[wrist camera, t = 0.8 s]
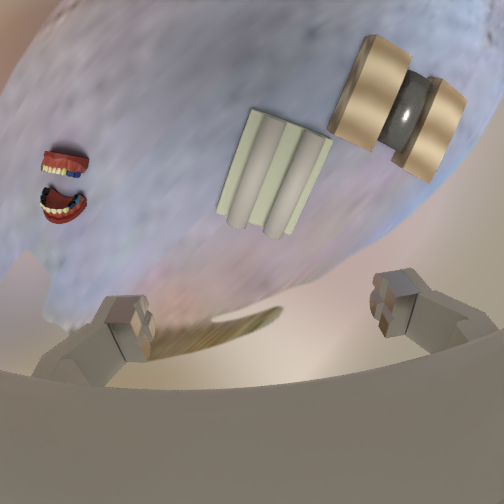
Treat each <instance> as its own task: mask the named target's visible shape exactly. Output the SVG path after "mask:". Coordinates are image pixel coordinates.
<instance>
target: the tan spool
mask: <svg viewBox="0 0 504 504" xmlns="http://www.w3.org/2000/svg"><path fill="white" fill-rule="evenodd" d="M411 60H412V56H411V55H409V54H408V53H406V52H405V51H403V50H402V49H400V48H399V47H397V46H396V45H394V44H392V43H391V42H389V41H388V40H386V39H384V38H383V37H381V36H379V35H377V34H376V35H372V36H367V37H365V40H364V42H363V44H362V47H361V49H360V52H359V54H358V56H357V59H356V61H355V64H354V66H353V68H352V71H351V73H350V75H349V78H348V80H347V83H346V85H345V87H344V90H343V92H342V94H341V97H340V99H339V101H338V104H337V106H336V108H335V111H334V113H333V115H332V118H331V120H330V122H329V124H328V127H327V129H326V130H328V131H329V132H331V133H332V134H334V135H336V136H338V137H340V138H342V139H345V140H347V141H349V142H351V143H353V144H355V145H357V146H360V147H362V148H364V149H366V150H368V151H370V152H372V149H373V147H374V145H375V143H376V141H377V139H378V137H379V134H380V132H381V130H382V128H383V126H384V123H385V121H386V119H387V117H388V114H389V112H390V110H391V108H392V105H393V103H394V101H395V98H396V96H397V94H398V91H399V89H400V87H401V84H402V82H403V79H404V77H405V74H406V72H407V70H408V67H409V65H410V62H411ZM428 80H429V81H430V82H431V83H432V84H433V87H432V89H431V92H430V94H429V97H428V99H427V102H426V104H425V106H424V109H423V111H422V113H421V116H420V118H419V120H418V122H417V125H416V127H415V129H414V131H413V133H412V136H411V138H410V140H409V142H408V144H407V146H406V148H405V151H404V153H403V154H402V153H400V152H398V151H397V150H396V152H395V154H394V156H393V158H392V160H391V161H392V162H394V163H395V164H397V165H398V166H400V167H401V168H402V169H404V170H406V171H408V172H409V173H411V174H413V175H415V176H416V177H418V178H420V179H422V180H423V181H425V182H427V183H428V184H430V182H431V180H432V178H433V176H434V174H435V172H436V170H437V168H438V166H439V164H440V162H441V160H442V158H443V156H444V154H445V152H446V150H447V147H448V145H449V143H450V141H451V139H452V136H453V134H454V132H455V130H456V127H457V125H458V123H459V120H460V118H461V115H462V113H463V111H464V108H465V106H466V103H467V99H466V98H465V97H464V96H463V95H462V94H460V93H459V92H458V91H457V90H456V89H455V88H453V87H452V86H451V85H450V84H449V83H447V82H446V81H445V80H444V79H440V78H433V77H428Z"/></svg>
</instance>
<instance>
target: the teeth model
mask: <svg viewBox="0 0 504 504" xmlns="http://www.w3.org/2000/svg"><path fill="white" fill-rule="evenodd" d="M88 163H89V159H86V158H81V157H76V156H71V155H66V154H60V153H54V152H48V151H45V153H44V159H43V162H42V164H41V171H43V172H44V171H46V172H50V173H51V172H52V173H56V174H60V173H61V174H62V175H65V174H66V175H67V176H69V177H70V176H72V177H74V178H76V177H77V178H79V177H80V176H81V173H83V172H84V171H85V170H86V169H87V167H88ZM61 170H62V171H61ZM40 200H41V201H40V206H41V208H42V209H43V211H44V214H45V217H46V218H47V219H48V220H49V221H50V222H52V223H55V224H62V223H67V222H69V221H71V220H73V219H75V218H76V217H77V216H79V215H80V214H81V212H82V211H83V210H84V209H85V207H86V205H87V203H86V199H85V198H84V197H83V196H81V195H79V194H76V195H75V196H74V197H72V198H69V197H64V196H62V195H60V194H59V193H57V192H56V191H55V190H54V189H52V188H46V187H45V188H44V189H43V191H42V195H41V198H40Z"/></svg>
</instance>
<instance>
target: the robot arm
mask: <svg viewBox="0 0 504 504" xmlns="http://www.w3.org/2000/svg"><path fill="white" fill-rule="evenodd" d="M373 285H374V286H375V289H374V290H373V291H372V293H371V295H370V309H371V313H372V315H373V317H374V318H375V319H377V320H379V321H380V322H379V328H380V330H381V331H382V333H383V335H384V337H385V338H390V337H395V336H401V335H406V336H407V337H408V338H409V339H411V340H413V341H414V342H415V343H416V344H418V345H419V346H421V347H422V348H423V349H425V350H426V351H427V352H429V353H430V355H426V356H423V357H419V358H416V359H413V360H409V361H405V362H401V363H398V364H393V365H389V366H385V367H381V368H376V369H371V370H366V371H362V372H357V373H351V374H346V375H341V376H335V377H329V378H323V379H317V380H310V381H303V382H296V383H288V384H278V385H269V386H260V387H259V386H258V387H246V388H231V389H211V390H210V389H209V390H149V389H128V388H113V387H104V386H105V385H106V384H107V383H108V382H109V381H110V379H112V377H113V376H114V375H115V374H116V373H117V372H118V371H119V370H120V369H121V368H122V367H123V366H124V365H125V364H126V362H147V361H148V357H149V354H150V350H151V347H150V344H149V343H150V342H151V341H152V340H153V339H154V335H155V322H154V318H153V315H152V314H151V313H150V312H149V311H148V310H147V308H148V306H149V303H148V300H147V298H146V296H144V295H120V296H107V297H105V299H104V300H103V302H102V304H101V306H100V307H99V309H98V311H97V313H96V315H95V317H94V319H93V320H92V322H91V324H86V325H85V326H83V327H82V328H80V329H79V330H77V331H76V332H75V333H73V334H72V335H70V336H69V337H68V338H66V339H65V340H63V341H62V342H61V343H59V344H58V345H56V346H55V347H53V348H52V349H51V350H49V351H48V352H46V353H45V354H44V355H42V357H41V359H40V361H39V363H38V364H37V366H36V368H35V370H34V372H33V374H32V376H31V377H30V376H25V375H20V374H16V373H11V372H7V371H2V370H0V504H504V328H503V329H501V330H499V329H498V328H497V327H496V325H495V324H494V323H493V322H492V321H491V319H490V318H489V317H488V316H487V315H486V313H485V312H482V311H480V310H478V309H476V308H474V307H471V306H469V305H467V304H465V303H463V302H461V301H458V300H456V299H454V298H452V297H449V296H447V295H445V294H443V293H440V292H438V291H432V290H431V289H430V288H429V286H428V285H427V284H426V283H425V282H424V281H423V279H422V278H421V277H420V276H419V275H418V274H417V273H416V271H415V270H414V269H412V268H407V269H400V270H396V271H389V272H383V273H376V274H375V275H374V278H373Z"/></svg>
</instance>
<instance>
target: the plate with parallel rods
mask: <svg viewBox="0 0 504 504" xmlns="http://www.w3.org/2000/svg"><path fill="white" fill-rule="evenodd" d="M332 144H333V140H332V139H330V138H328V137H326V136H324V135H321V134H319V133H317V132H314V131H312V130H309V129H307V128H304V127H302V126H299V125H297V124H294V123H291V122H289V121H286V120H283V119H281V118H278V117H275V116H272V115H269V114H267V113H264V112H261V111H258V110H255V109H252V108H251V111H250V113H249V116H248V119H247V122H246V124H245V127H244V130H243V133H242V135H241V138H240V141H239V144H238V146H237V149H236V152H235V155H234V158H233V161H232V164H231V166H230V169H229V172H228V175H227V178H226V181H225V184H224V187H223V190H222V193H221V196H220V199H219V202H218V205H217V209H216V213H218V214H222V215H225V216H228V217H227V220H226V222H227V223H228V224H229V225H230V226H232V227H234V228H236V229H245V228H246V226H247V223H248V222H249V223H253V224H256V225H259V226H263V227H264V229H263V233H264V234H265V235H266V236H267V237H269V238H271V239H274V240H280V239H281V238H282V236H283V234H284V233H286V234H289V235H291V232H292V230H293V228H294V226H295V224H296V222H297V220H298V218H299V216H300V213H301V211H302V209H303V207H304V205H305V203H306V201H307V198H308V196H309V194H310V192H311V190H312V188H313V185H314V183H315V181H316V179H317V177H318V175H319V172H320V170H321V168H322V166H323V164H324V161H325V159H326V157H327V155H328V153H329V150H330V148H331V146H332Z"/></svg>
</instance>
